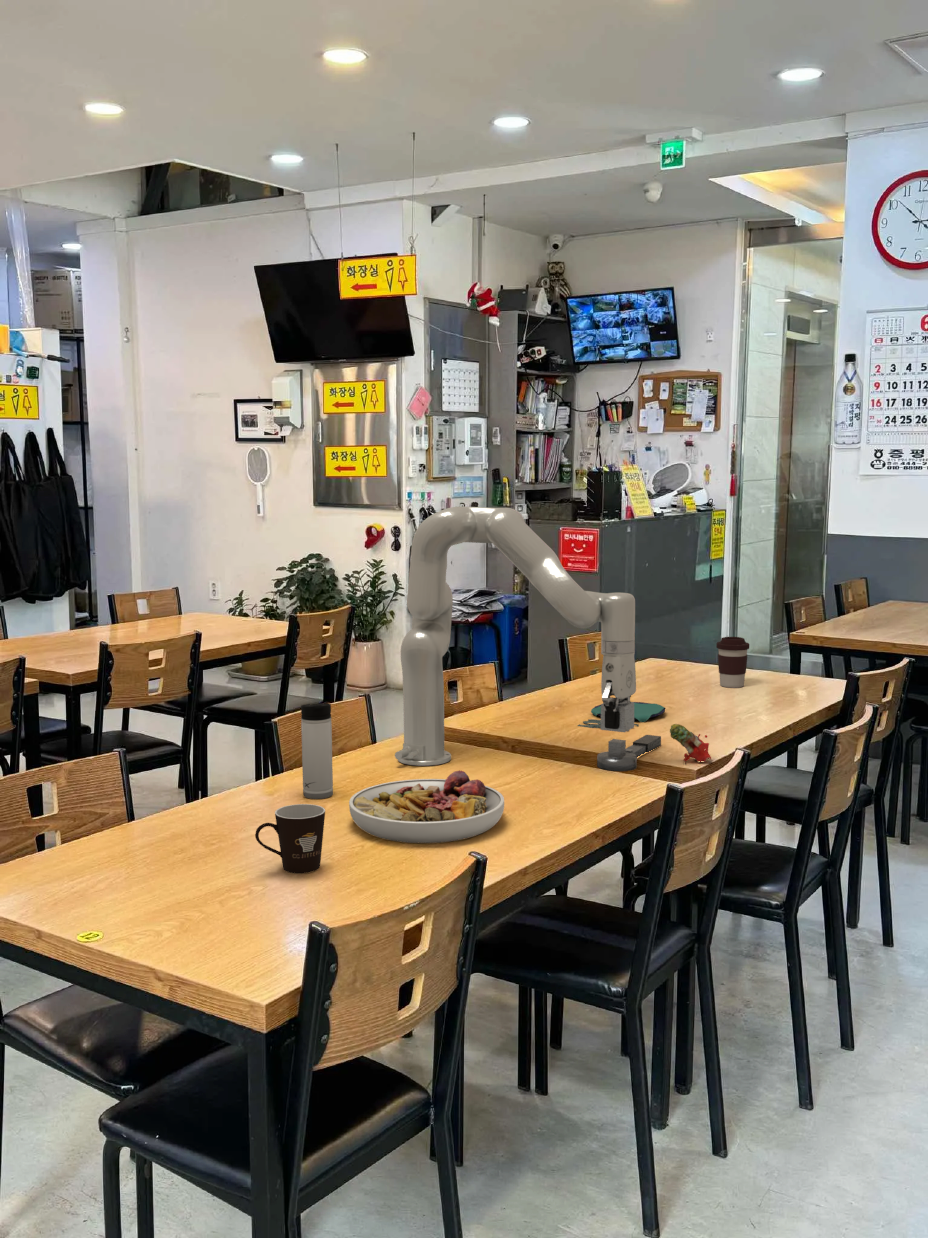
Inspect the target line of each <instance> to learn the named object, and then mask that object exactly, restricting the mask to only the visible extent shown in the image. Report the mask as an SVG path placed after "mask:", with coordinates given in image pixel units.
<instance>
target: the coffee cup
mask: <svg viewBox="0 0 928 1238" xmlns="http://www.w3.org/2000/svg"><path fill="white" fill-rule="evenodd" d="M716 649H718V654H717V659H718V660H717V661H718V662H717V663H718V664H717V665H718V667H717V668H718V673H719V685H720V686H721V687H723V688H730V689H731V688H733V689H736V688H737V689H738V688H742V687H744V685H745V680H746V679H745V677H746V673H747V666H748V665H747V664H748V663H747V662H748V650H749V649H750V643H749V642H746V640H745V638H744V637H740V636H724V637H721V638H720V641H718V642H716Z"/></svg>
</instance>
